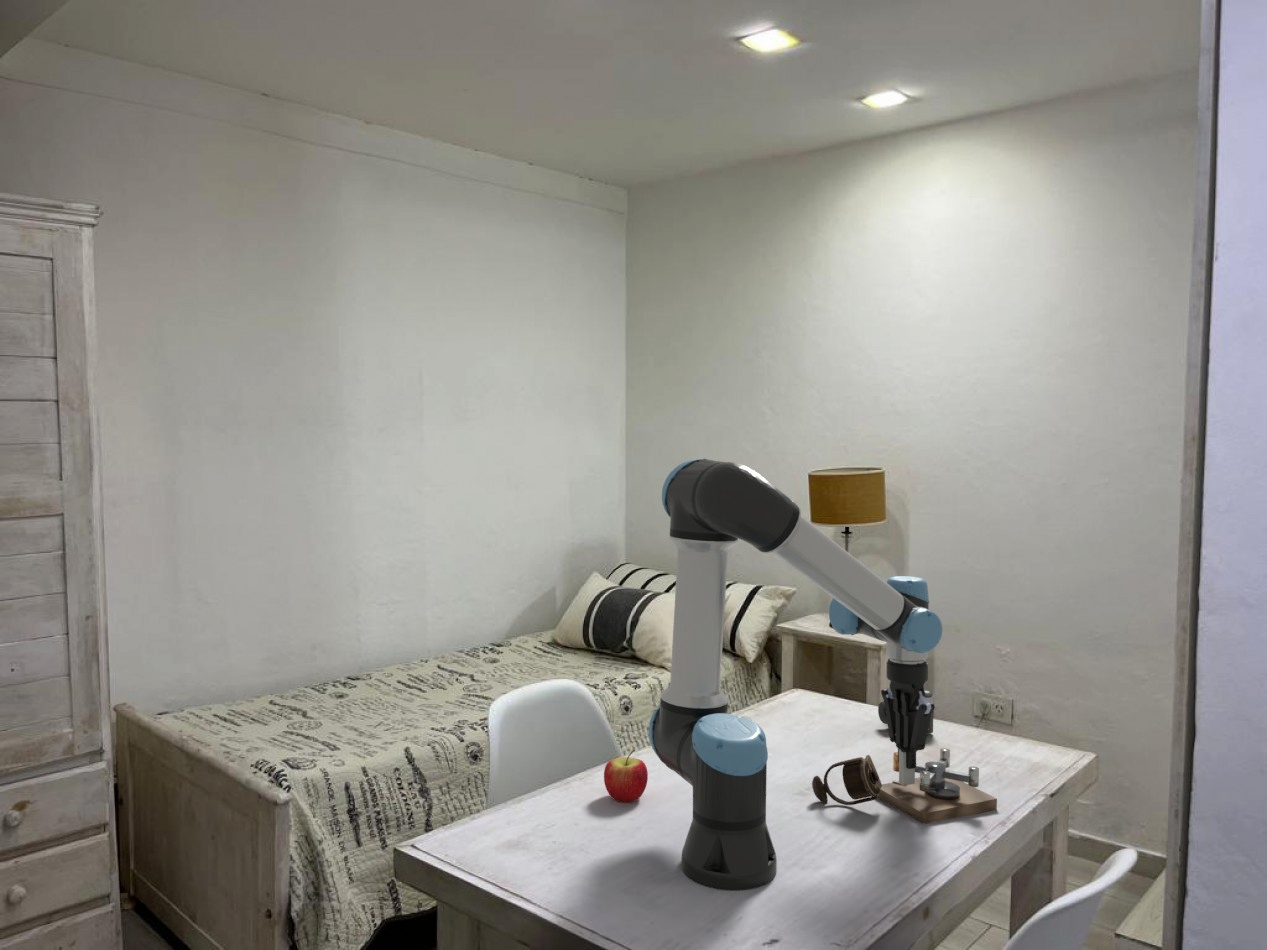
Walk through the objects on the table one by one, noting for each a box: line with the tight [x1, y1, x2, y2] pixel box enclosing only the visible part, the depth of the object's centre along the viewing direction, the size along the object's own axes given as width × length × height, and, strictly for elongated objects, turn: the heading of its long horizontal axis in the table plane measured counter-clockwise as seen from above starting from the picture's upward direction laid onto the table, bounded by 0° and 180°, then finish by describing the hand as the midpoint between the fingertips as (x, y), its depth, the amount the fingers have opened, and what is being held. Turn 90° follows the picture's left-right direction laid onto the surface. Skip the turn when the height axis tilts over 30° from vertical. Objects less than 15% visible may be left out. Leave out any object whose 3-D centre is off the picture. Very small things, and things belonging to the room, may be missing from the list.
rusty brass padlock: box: [811, 754, 882, 806], centre depth 179 cm, size 7×13×10 cm, turn 78°
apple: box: [603, 748, 649, 803], centre depth 183 cm, size 8×8×10 cm
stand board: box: [877, 776, 998, 825], centre depth 183 cm, size 17×14×2 cm
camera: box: [877, 680, 935, 735], centre depth 228 cm, size 16×10×10 cm, turn 15°
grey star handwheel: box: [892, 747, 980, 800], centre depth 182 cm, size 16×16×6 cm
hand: (906, 783), depth 183 cm, fingers closed
